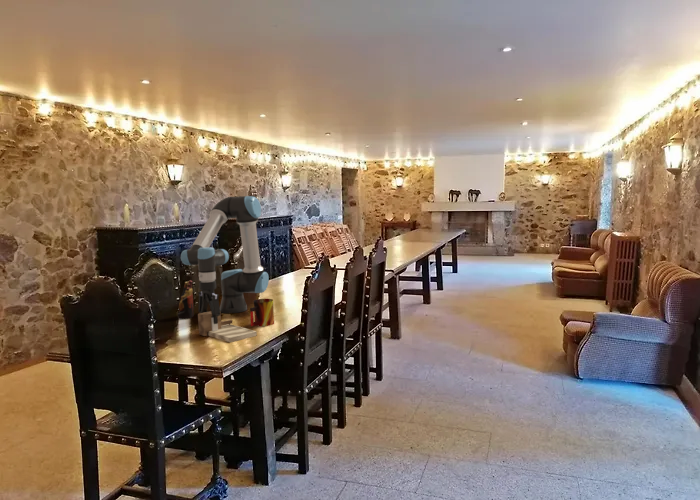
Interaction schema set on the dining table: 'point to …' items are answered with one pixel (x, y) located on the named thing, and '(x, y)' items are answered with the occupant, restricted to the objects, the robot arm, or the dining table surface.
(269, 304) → the mug
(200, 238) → the robot arm
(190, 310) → the statue
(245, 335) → the board
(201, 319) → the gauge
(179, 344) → the dining table surface
